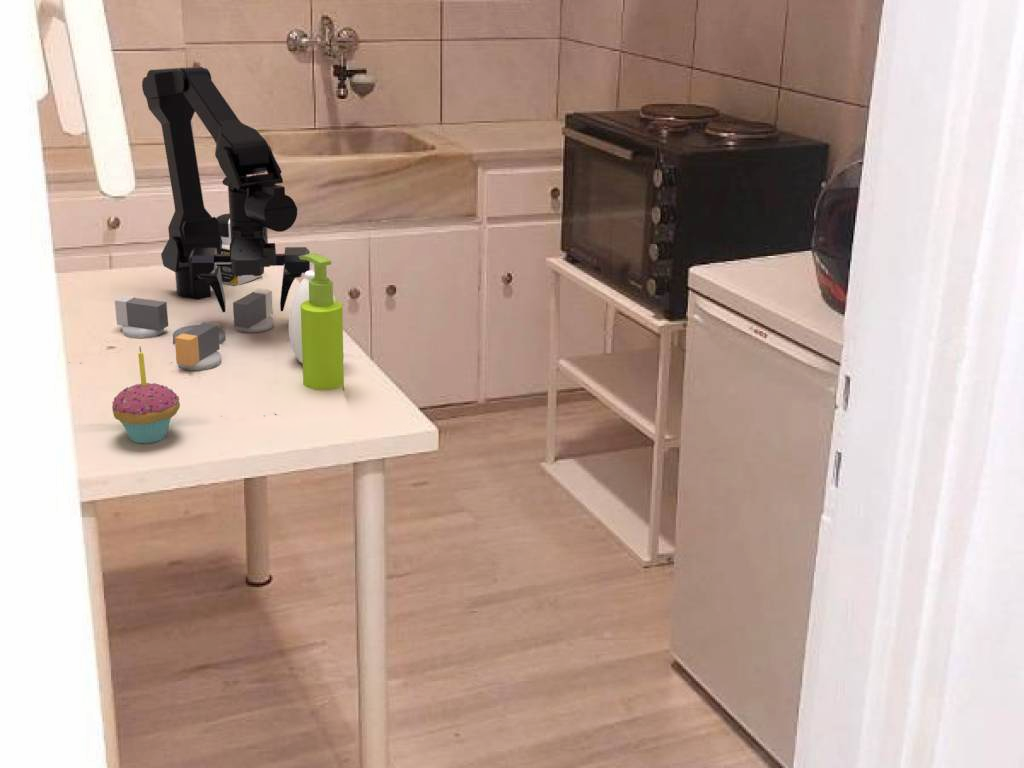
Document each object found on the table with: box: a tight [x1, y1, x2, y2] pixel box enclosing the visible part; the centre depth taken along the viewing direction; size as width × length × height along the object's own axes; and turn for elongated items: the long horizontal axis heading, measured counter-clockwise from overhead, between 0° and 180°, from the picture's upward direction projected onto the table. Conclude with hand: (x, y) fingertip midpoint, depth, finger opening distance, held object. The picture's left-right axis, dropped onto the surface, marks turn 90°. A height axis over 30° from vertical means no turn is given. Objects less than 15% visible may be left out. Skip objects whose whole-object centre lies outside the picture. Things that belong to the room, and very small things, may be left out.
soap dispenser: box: [299, 253, 345, 392], centre depth 169 cm, size 6×7×20 cm
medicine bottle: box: [216, 213, 263, 287], centre depth 217 cm, size 7×7×12 cm
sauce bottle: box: [288, 262, 336, 364], centre depth 177 cm, size 8×8×18 cm
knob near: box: [114, 295, 169, 339], centre depth 188 cm, size 8×6×5 cm
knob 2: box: [232, 288, 275, 334], centre depth 192 cm, size 8×6×5 cm
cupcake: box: [111, 345, 181, 444], centre depth 154 cm, size 9×8×12 cm
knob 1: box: [174, 321, 222, 371], centre depth 176 cm, size 8×6×5 cm
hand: (253, 311), depth 192 cm, fingers open, 9 cm apart
